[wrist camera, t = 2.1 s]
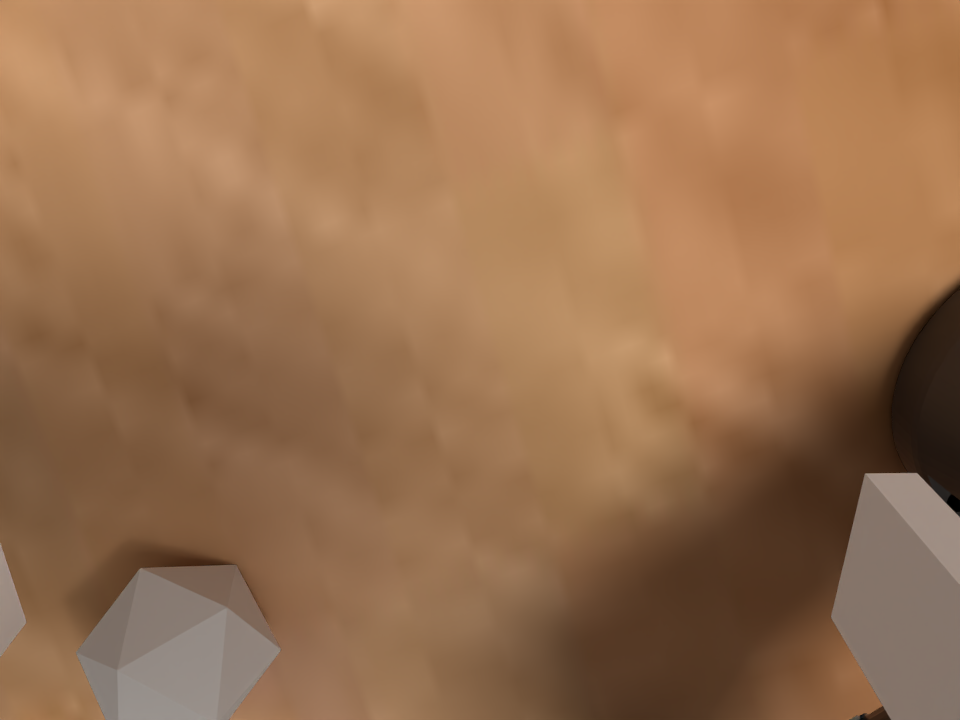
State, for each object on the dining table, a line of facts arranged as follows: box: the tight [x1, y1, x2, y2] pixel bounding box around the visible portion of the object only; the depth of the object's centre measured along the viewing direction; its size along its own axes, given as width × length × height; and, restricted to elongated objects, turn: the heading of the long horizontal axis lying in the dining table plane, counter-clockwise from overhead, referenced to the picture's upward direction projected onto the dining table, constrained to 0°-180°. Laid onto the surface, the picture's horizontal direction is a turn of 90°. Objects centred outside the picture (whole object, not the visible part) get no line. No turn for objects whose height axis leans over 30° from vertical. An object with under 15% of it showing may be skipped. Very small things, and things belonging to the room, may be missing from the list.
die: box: [76, 565, 281, 720], centre depth 38 cm, size 8×9×10 cm
